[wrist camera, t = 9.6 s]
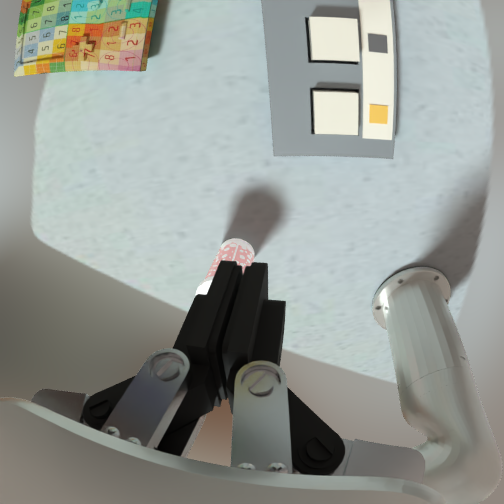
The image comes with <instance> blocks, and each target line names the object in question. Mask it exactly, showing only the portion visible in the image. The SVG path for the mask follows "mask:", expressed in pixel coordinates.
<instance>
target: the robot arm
mask: <svg viewBox="0 0 504 504" xmlns="http://www.w3.org/2000/svg"><path fill="white" fill-rule="evenodd" d="M450 296H451V289H450V284H449V282H448V280H447V278H446V277H445V276H444V274H443V273H441V272H440V271H439V270H436V269H434V268H430V267H415V268H410V269H407V270H404V271H401V272H399V273H397V274H395V275H394V276H392V277H391V278H389V279H388V280H387V281H386V282H385V283H383V284H382V286H381V287H380V288H379V289H378V291H377V292H376V294H375V296H374V299H373V302H372V311H373V316H374V319H375V321H376V322H377V324H378V325H380V326H381V327H382V328H384V329H386V330H387V332H388V337H389V342H390V347H391V352H392V357H393V363H394V368H395V374H396V380H397V386H398V393H399V400H400V406H401V411H402V414H403V417H404V419H405V420H406V422H407V423H408V424H409V425H410V426H411V427H413V428H414V429H415V430H417V431H418V432H420V433H422V434H424V435H425V436H427V441H426V442H425V443H423V444H421V445H419V446H416V447H414V448H407V447H399V446H392V445H386V444H379V443H374V442H368V441H363V440H358V439H355V440H354V441H351V440H347V439H342V438H340V436H339V435H338V434H337V433H336V432H334V431H333V430H332V429H331V428H330V427H329V426H328V425H327V424H326V423H325V422H323V421H322V420H321V419H320V418H319V417H318V416H317V415H316V414H315V413H314V412H313V411H312V410H311V409H310V408H309V407H308V406H306V405H305V404H304V403H303V402H302V401H301V400H300V399H299V398H298V397H297V396H296V395H295V394H294V393H293V392H292V391H291V390H290V389H289V388H288V387H287V379H286V376H285V373H284V372H283V370H282V369H281V368H280V360H281V359H280V358H281V351H282V344H283V335H284V324H285V307H286V301H278V300H268V264H267V263H257V262H252V263H251V266H246V267H245V270H244V273H243V270H242V266H241V265H237V262H236V261H226V260H221V261H220V263H219V265H218V268H217V270H216V272H215V275H214V277H213V280H212V282H211V285H210V287H209V289H208V292H207V294H197V295H196V297H195V298H194V301H193V303H192V305H191V307H190V310H189V312H188V314H187V316H186V319H185V321H184V323H183V326H182V328H181V330H180V333H179V335H178V337H177V340H176V342H175V344H174V347H173V349H171V348H169V349H162V350H159V351H156V352H155V353H153V354H152V355H150V356H149V358H148V359H147V360H146V361H145V363H144V364H143V366H142V367H141V369H140V370H139V372H138V373H137V375H136V376H134V377H132V378H129V379H127V380H125V381H123V382H121V383H119V384H116V385H114V386H112V387H109V388H107V389H105V390H103V391H100V392H98V393H96V394H94V395H92V396H88V395H87V394H85V393H76V392H68V391H60V390H53V389H42V390H39V391H38V392H37V393H36V394H35V395H34V396H33V398H32V401H31V402H30V401H27V400H24V399H19V398H12V397H6V398H0V504H479V503H480V502H482V501H483V500H485V499H486V498H487V497H488V496H489V495H490V494H492V492H493V491H494V490H495V489H496V487H497V486H498V484H499V482H500V479H501V476H502V459H501V455H500V451H499V448H498V445H497V443H496V440H495V438H494V435H493V433H492V430H491V427H490V425H489V423H488V420H487V417H486V414H485V411H484V409H483V406H482V402H481V399H480V396H479V392H478V389H477V386H476V383H475V380H474V376H473V373H472V370H471V367H470V364H469V361H468V358H467V355H466V352H465V349H464V346H463V344H462V341H461V338H460V335H459V333H458V330H457V327H456V325H455V322H454V320H453V317H452V315H451V312H450V310H449V307H448V303H449V300H450ZM227 398H228V399H229V404H230V408H231V413H232V414H233V426H232V446H231V448H232V449H231V467H228V466H222V465H217V464H211V463H207V462H201V461H197V460H192V459H188V458H186V457H187V455H188V453H189V451H190V449H191V447H192V445H193V443H194V441H195V439H196V437H197V435H198V433H199V431H200V429H201V426H202V424H203V422H204V420H205V417H206V414H207V413H208V412H210V411H212V410H213V407H214V406H218V407H220V405H221V401H222V399H225V400H226V399H227Z"/></svg>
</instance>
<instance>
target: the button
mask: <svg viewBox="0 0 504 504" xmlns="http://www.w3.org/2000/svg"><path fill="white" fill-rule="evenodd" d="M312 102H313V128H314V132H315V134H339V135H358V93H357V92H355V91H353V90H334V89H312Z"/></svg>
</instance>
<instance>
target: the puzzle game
mask: <svg viewBox="0 0 504 504" xmlns="http://www.w3.org/2000/svg"><path fill="white" fill-rule="evenodd" d="M157 3H158V0H23V1H22V6H21V12H20V18H19V24H18V32H17V42H16V52H15V68H14V77H16V76H24V75H32V74H42V73H53V72H68V71H146V67H147V59H148V53H149V46H150V40H151V34H152V28H153V23H154V17H155V12H156V7H157Z"/></svg>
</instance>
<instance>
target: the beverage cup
mask: <svg viewBox="0 0 504 504" xmlns="http://www.w3.org/2000/svg"><path fill="white" fill-rule="evenodd" d="M221 260H226V261H236V262H237V265H241V266H242V270H243V273H244V270H245V267H246V266H251V263H252V262H254V250H253V248H252V246H251V245H250V244H249V243H248V242H246V241H244V240H242V239H236V238H233V239H229V240H226V241H225V242H224V243H223V244H222V245H221V247H220V249H219V251H218V253H217V255H216V257H215V259H214V261H213V263H212V266H211V268H210V270H209V272H208V274H207V276H206V278H205V280H203V281H202V282H201V283H200V285H199V287H198V290H197V292H196V295H197V294H207V292H208V289H209V287H210V285H211V282H212V280H213V277H214V275H215V272H216V270H217V268H218V265H219V263H220V261H221Z"/></svg>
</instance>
